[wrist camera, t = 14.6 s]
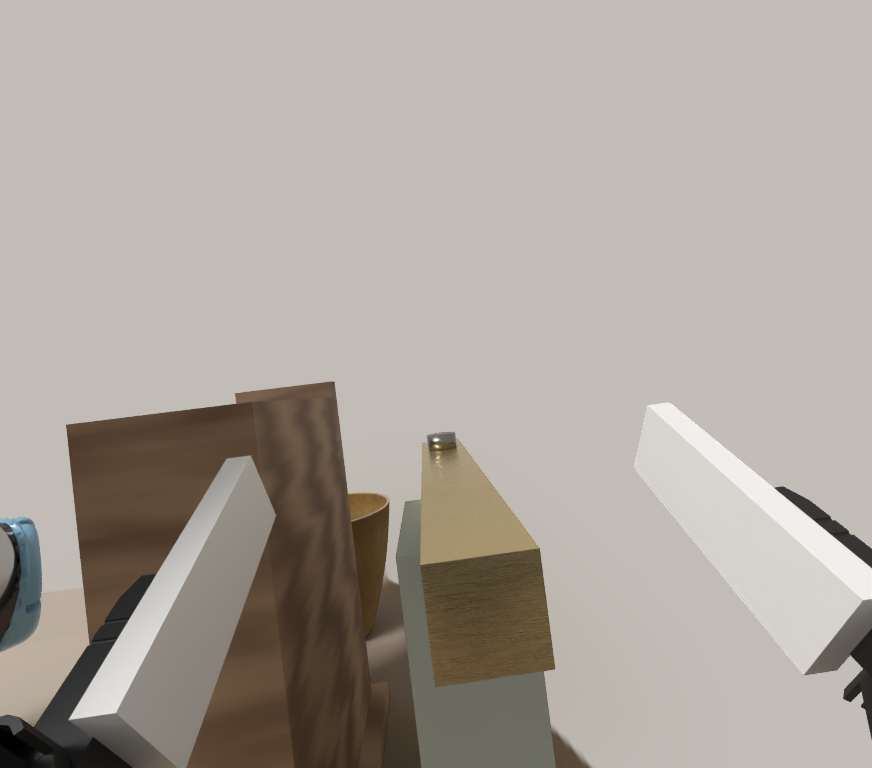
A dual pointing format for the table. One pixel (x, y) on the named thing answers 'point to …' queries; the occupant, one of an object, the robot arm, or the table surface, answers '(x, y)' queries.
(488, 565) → the brass bar
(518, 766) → the grey block
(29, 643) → the table surface
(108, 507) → the walnut stand
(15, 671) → the table surface
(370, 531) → the plant pot
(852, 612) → the robot arm
